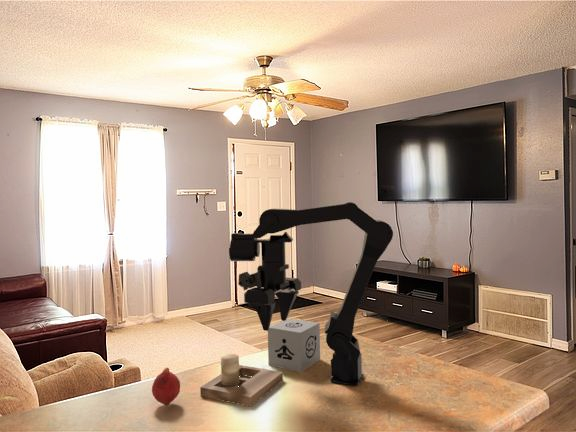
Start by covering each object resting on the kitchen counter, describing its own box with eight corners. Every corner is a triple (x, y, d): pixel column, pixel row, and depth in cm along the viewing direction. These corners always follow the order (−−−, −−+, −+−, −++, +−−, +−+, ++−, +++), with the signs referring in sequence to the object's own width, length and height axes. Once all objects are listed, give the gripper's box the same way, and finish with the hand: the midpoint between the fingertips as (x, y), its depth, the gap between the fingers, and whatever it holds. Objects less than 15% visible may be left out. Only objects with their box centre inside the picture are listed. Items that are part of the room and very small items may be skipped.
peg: (243, 389, 105) (242, 355, 105) (233, 396, 101) (232, 361, 101) (228, 386, 107) (227, 353, 107) (218, 393, 103) (217, 358, 103)
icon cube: (288, 353, 129) (288, 318, 129) (320, 359, 124) (319, 322, 123) (268, 365, 120) (267, 327, 120) (301, 372, 115) (300, 332, 115)
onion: (173, 412, 95) (172, 373, 95) (147, 410, 96) (146, 372, 96) (185, 399, 101) (183, 363, 100) (160, 398, 102) (159, 362, 101)
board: (282, 380, 110) (282, 372, 110) (250, 406, 97) (250, 397, 97) (236, 372, 116) (236, 364, 116) (200, 395, 102) (200, 387, 102)
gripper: (263, 255, 122) (264, 313, 123) (223, 265, 105) (225, 332, 106) (301, 256, 117) (302, 317, 118) (266, 267, 100) (267, 337, 101)
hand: (275, 325), depth 111 cm, fingers open, 9 cm apart
